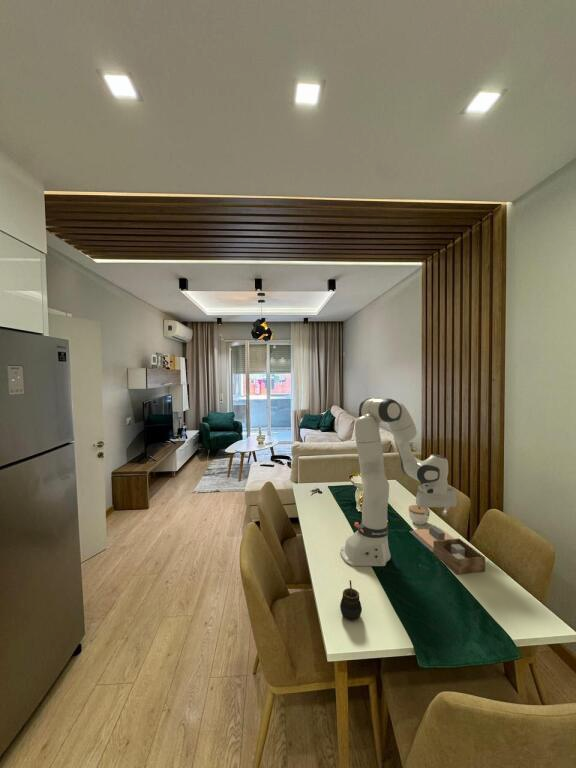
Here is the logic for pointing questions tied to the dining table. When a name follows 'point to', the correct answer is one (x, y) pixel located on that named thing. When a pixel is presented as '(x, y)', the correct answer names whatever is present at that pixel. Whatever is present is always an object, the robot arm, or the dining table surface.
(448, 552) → the walnut box
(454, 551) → the grey block
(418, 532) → the lid
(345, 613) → the mate gourd
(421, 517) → the lidded jar
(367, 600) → the dining table surface
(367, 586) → the dining table surface
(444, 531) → the rubber mat
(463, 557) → the cream block
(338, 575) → the dining table surface
